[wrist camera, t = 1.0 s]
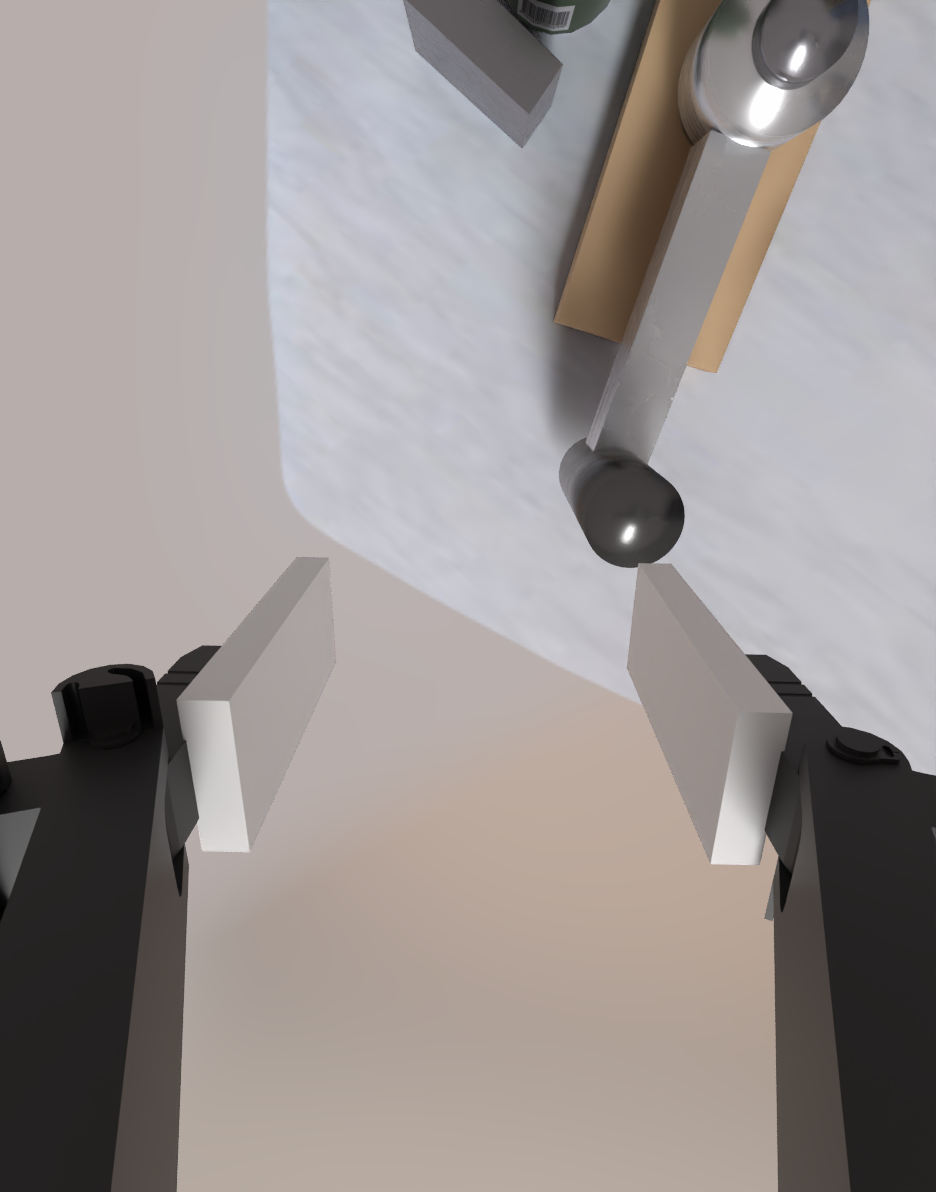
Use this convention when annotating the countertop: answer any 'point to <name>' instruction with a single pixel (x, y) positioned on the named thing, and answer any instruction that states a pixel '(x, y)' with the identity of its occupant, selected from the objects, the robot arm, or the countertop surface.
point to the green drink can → (557, 13)
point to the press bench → (665, 197)
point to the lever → (688, 275)
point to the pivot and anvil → (531, 72)
